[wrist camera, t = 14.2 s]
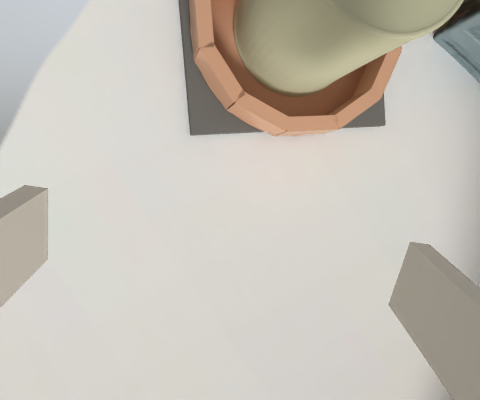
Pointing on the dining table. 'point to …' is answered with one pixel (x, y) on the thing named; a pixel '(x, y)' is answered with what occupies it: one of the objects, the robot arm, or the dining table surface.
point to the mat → (213, 112)
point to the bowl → (269, 102)
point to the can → (326, 37)
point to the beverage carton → (463, 36)
